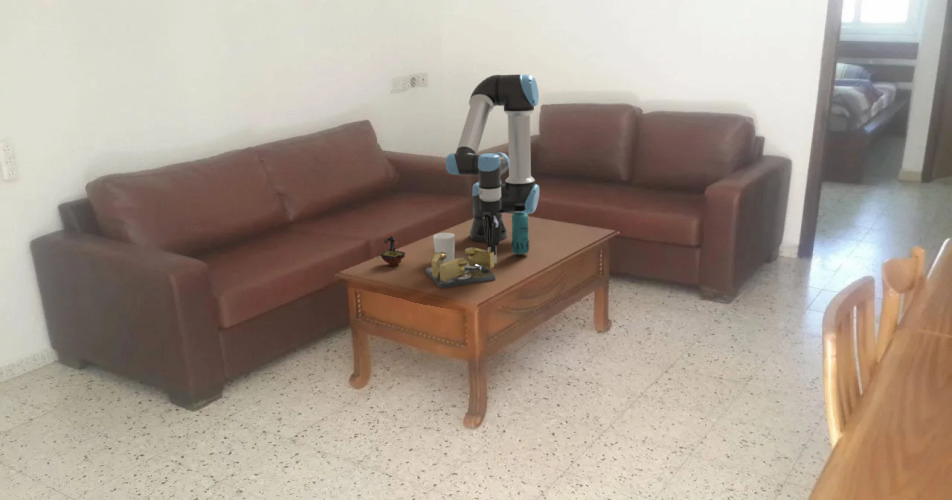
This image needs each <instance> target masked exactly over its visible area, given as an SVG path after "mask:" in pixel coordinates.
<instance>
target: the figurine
mask: <svg viewBox="0 0 952 500" xmlns="http://www.w3.org/2000/svg"><path fill="white" fill-rule="evenodd" d="M389 241H390V243H389V249H388V250H384V251H383V252H382V253H381V254H380V257H381V259H382V260H383V261H384V262H386V263H387V264H388V265H389V266H391V267H395V266H397V265H399V264H401V262H402V260H403V259H404V258H405V255H406V252H405V251H399V250H396V248H395V244H396V246H397V247H400V245H399V244H398V243H397V241H396V240H395V237H394V236H393V234H390V236H389V237H388V238H387V239H386V238H385V239H384V240H383V242H384V245H385V244H386V245H387V243H388V242H389Z"/></svg>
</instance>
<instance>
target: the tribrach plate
mask: <svg viewBox="0 0 952 500" xmlns="http://www.w3.org/2000/svg"><path fill="white" fill-rule="evenodd" d="M425 273H426V274H427V275H428V276H429V277H430V279H431V280H432V281H433V282H434V284H435V285H437V287H438V288H439V289H446V288H451V287H458V286H464V285H471V284H477V283H484V282H490V281H495V280H496V275H495V274H494V273H493V272H492V271H491V270H490V268H488V267H484V266H480V265H476V264H475V265H469V261H468V264H467V265H465V275H463V276H459V275H458V276H456V277H454V278H451V279H449V280H446V281H442V280H440V274H439V276H432V266H430V267H426V268H425Z"/></svg>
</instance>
